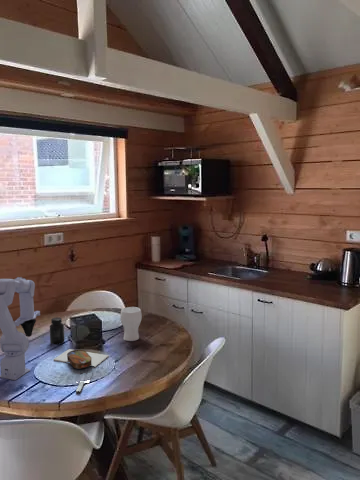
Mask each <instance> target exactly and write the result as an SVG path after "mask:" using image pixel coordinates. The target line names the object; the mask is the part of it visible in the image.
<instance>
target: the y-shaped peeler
mask: <svg viewBox="0 0 360 480" xmlns="http://www.w3.org/2000/svg"><path fill="white" fill-rule="evenodd" d="M90 381H91V380H87V381H80V383H79V384H78V386H77V387H76V390H75V394H76V395H79V394H81V393H82V391H83V389H84V385H86V384H85V383H87V384H88V385H89V384H90ZM76 383H78V382H77V381H76V382H75V384H76Z"/></svg>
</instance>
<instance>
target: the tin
mask: <svg viewBox="0 0 360 480" xmlns="http://www.w3.org/2000/svg"><path fill="white" fill-rule="evenodd" d="M72 350H73V351H70V352H68V353H67V359H68V361H69V362H70V363H69V364H70V365H71V366H72V368H74V369H76V370H77V369H79V370H81V369H86V368H89V366H90V365H91V359H92V358H91V357H90V356H89V355H88V353H87V352H88V351H86V350H83V349H72Z"/></svg>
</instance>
